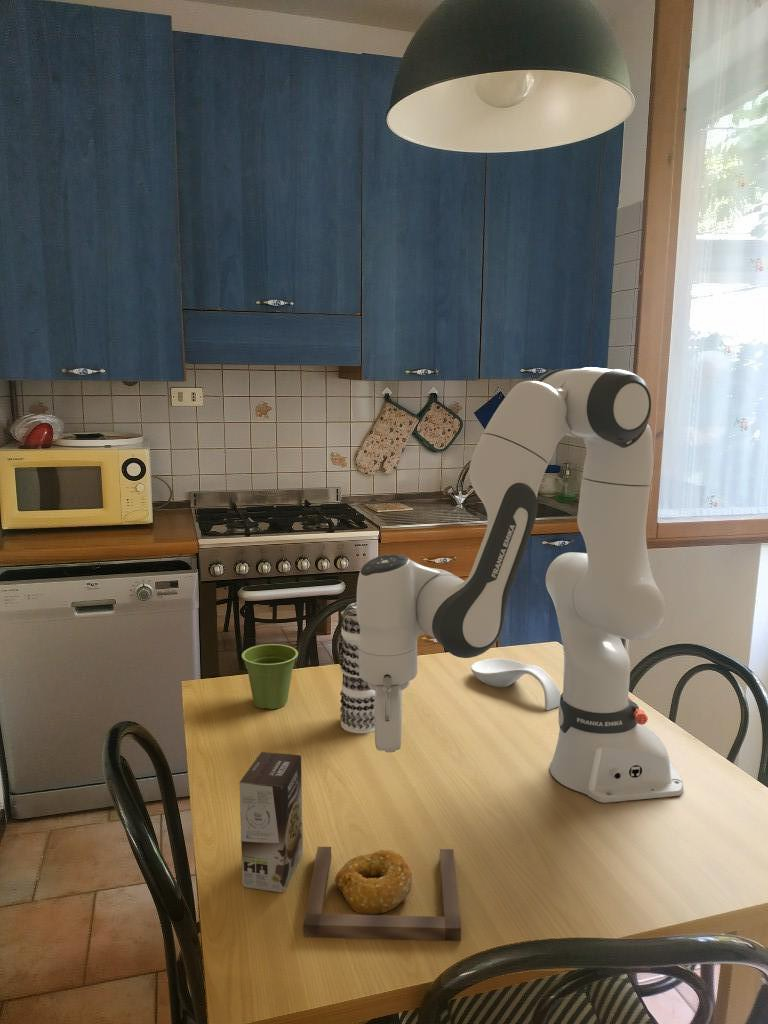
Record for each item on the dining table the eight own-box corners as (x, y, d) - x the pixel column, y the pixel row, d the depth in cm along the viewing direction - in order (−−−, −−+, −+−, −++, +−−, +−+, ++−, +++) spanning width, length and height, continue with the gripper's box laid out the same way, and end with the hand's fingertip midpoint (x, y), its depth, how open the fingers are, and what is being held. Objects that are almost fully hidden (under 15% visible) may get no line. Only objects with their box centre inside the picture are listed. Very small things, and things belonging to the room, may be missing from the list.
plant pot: (276, 720, 157) (274, 668, 154) (231, 707, 162) (229, 657, 160) (309, 698, 167) (308, 649, 164) (266, 687, 172) (265, 639, 170)
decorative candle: (374, 710, 161) (374, 596, 156) (391, 729, 153) (391, 610, 148) (333, 717, 158) (332, 601, 153) (347, 737, 149) (346, 615, 144)
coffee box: (285, 894, 105) (282, 787, 102) (241, 887, 106) (237, 782, 103) (305, 853, 114) (303, 753, 111) (264, 848, 115) (261, 749, 112)
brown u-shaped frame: (453, 860, 112) (453, 849, 112) (460, 940, 97) (461, 928, 96) (317, 857, 113) (317, 846, 113) (303, 937, 97) (303, 924, 97)
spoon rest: (460, 679, 177) (460, 650, 176) (496, 668, 184) (497, 639, 183) (536, 716, 159) (538, 684, 157) (574, 702, 166) (575, 671, 164)
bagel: (359, 858, 113) (359, 830, 112) (424, 885, 107) (425, 855, 106) (320, 899, 105) (319, 868, 104) (389, 930, 99) (389, 898, 98)
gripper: (409, 692, 104) (411, 784, 107) (408, 638, 124) (410, 716, 127) (363, 693, 104) (366, 785, 107) (370, 638, 124) (372, 717, 127)
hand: (390, 747), depth 117 cm, fingers closed
